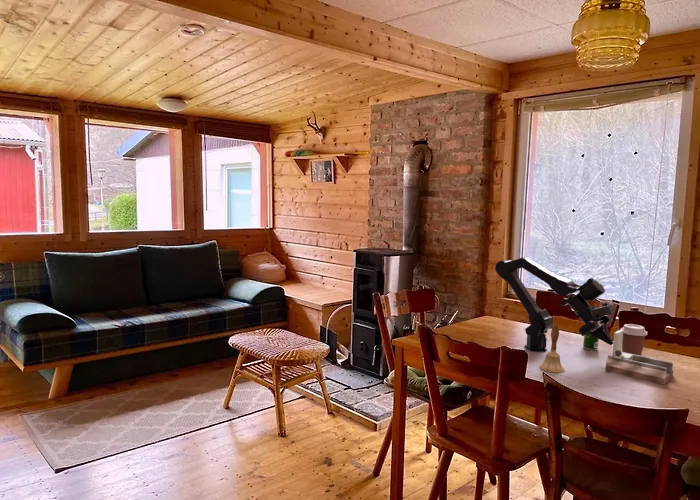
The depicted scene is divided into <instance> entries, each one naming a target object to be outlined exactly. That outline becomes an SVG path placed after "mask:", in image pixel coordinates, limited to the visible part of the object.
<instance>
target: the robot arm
mask: <svg viewBox="0 0 700 500" xmlns="http://www.w3.org/2000/svg"><path fill="white" fill-rule="evenodd" d="M519 269H523V270H525V271H527V272H528V273H530V274H531V275H533V276H534V277H536V278H538V279H540V280H541V281H542V282H544V283H545V284H547V285H548V287H550V289H551V290H552V291H553V292H554V293H555V294H556V295H558V296H560V297H563V298H562V303H561V305H562V307H564V306H567V305H569V307H570V308H571V309H572V310H573V312H574V313H575V314H576V318H577V319H580V320H581V321H582V322H583V325H582V326H580V327H579V328H578V333H579V334H580V335H581V337H584V335H586V333H588V332H589V331H592V332H591V333H590V334H589V335H592V336H594V337H596V338H598V339H599V340H600V341H602V342H603V343H606V344H608V345H610V346H613V342H614V340H613V339H612V337H611V334H610V332H609V329H608V326H609V322H610V321H612V320H613V319H614V318H613V317H612V316H611V315H612V314H614V313H615V310H614V308H615V307H614V305H612V303H609V302H607V301H606V302H604V303H602V306H600V307H596V306H595V305H591V304H590V303H589V302H588V301H590V302H594V301H595V300H597V299H598V298H599V297H601V295H604V293H605V292H606V290H605V287H604V285H602V283H599V282H598V281H597V280H595V279H594V277H590V278H589V279H587V280H586V282H584V283H583V284H578V283H575V282H574V281H573V280H572V279H569V278H567V277H565V276H561V275H557V274H555V273H553V272H552V271H550V270H548V269H547V268H545V267H543V266H541V265H540V264H539V263H537V262H535V261H533V260H532V259H531V258H530V257H527V256H523V257H519V258H516V259H513V260H511V259H505V260H504V259H503V260H499V261H497V262H496V264H495V267H494V270H495V272H496V273H497V275H498V276H499V277H500V278H501V279H502V280H504V281H505V282H507V284H508V285H509V286H510V288H511V289H512V291H513V292H514V294H515V296H516V297H517V299H518V300H519V301H520V303H521V305H522V306H523V308H524V309H525V311H526V313H527V316H528V322H529V323H530V324H529V325H528V326H527V327H526V328H525V329H524V332H525V334H526V335H527V336H526V344H524V348H526V349H528V350H529V351H530V352H546V351H548V350H547V337H546V336H547V333H548V331H549V330H551V328H553V325H554V324H553V323H554V322H553V317H552V316H551V315H550V314H549V311H548V310H547V309H546V308H544V309H541V308H540V307H539V306H538V304H537V303H536V301H535V300H534V298H533V297H532V295H531V293H530V292H529V290H528V289H527V288H526V286H525V284H524V283H523V282H522V279H521V278H520V277H519V271H518V270H519ZM577 292H578V293H577ZM574 293H577V294H574ZM567 296H568V297H567ZM566 297H567V298H566Z"/></svg>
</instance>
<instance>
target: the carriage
mask: <svg viewBox="0 0 700 500" xmlns="http://www.w3.org/2000/svg"><path fill="white" fill-rule="evenodd" d="M622 339H623V330H620V329H618V330H617V331H615V332H614V334H613V344H612V355H611V356H614V358H619V359H621V358H624V359H629V360H633V355H632V354H627V353H622Z"/></svg>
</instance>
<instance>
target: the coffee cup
mask: <svg viewBox="0 0 700 500" xmlns="http://www.w3.org/2000/svg"><path fill="white" fill-rule="evenodd" d="M619 330H623V339H622V351H621V352H625V353H630V354H635V355H640V356H643V355H642V354H643V349H644V345H645V339H646V336H648V331H646V330H645V327H644V326H642V325H641V324H640V325H638V324H633V323H628V324H627V323H626V324H624V325H623V327H621V328H620V329H619Z"/></svg>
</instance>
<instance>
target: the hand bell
mask: <svg viewBox="0 0 700 500" xmlns="http://www.w3.org/2000/svg"><path fill="white" fill-rule="evenodd" d="M551 328H552V329H550V338H551V347H550V351H548V352H546V353H545V356H544V360H543V362H542V363H541V364H540V365H539V366H538V367H539V369H541V371H545V372H547V373H556V374H561V373H564V372H565V368H564V367H563V365H562V363H561V356H560V354H559V353H558V352H557V343H558V340H559V336H560V329H559V325H558V324H555V323H554V324H553V325H552V327H551Z"/></svg>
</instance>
